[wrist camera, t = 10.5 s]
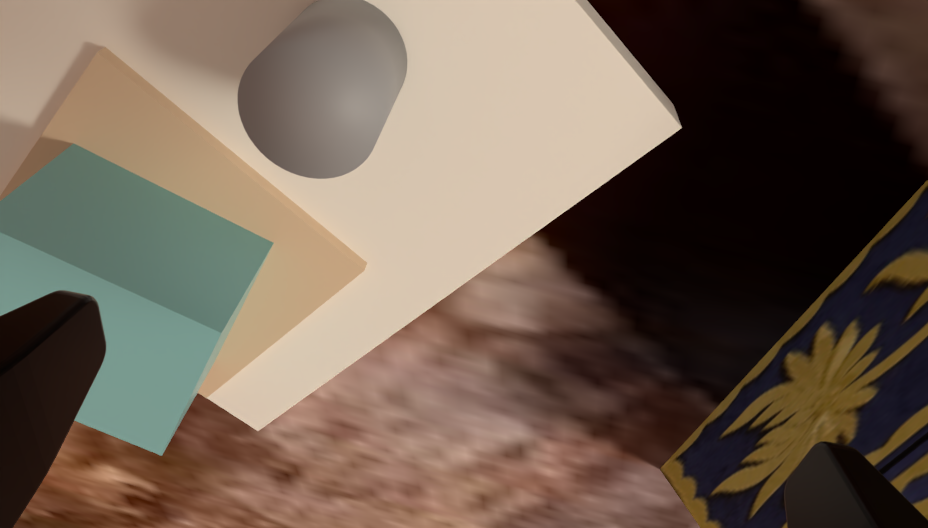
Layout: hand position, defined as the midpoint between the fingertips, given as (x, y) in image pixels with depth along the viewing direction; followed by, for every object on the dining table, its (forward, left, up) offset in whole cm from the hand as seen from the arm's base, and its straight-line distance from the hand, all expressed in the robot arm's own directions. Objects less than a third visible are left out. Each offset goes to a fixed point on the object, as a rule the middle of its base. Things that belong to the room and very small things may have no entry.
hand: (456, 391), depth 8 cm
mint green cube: (+12, -3, -10) cm, 16 cm away
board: (+7, -3, -12) cm, 14 cm away
